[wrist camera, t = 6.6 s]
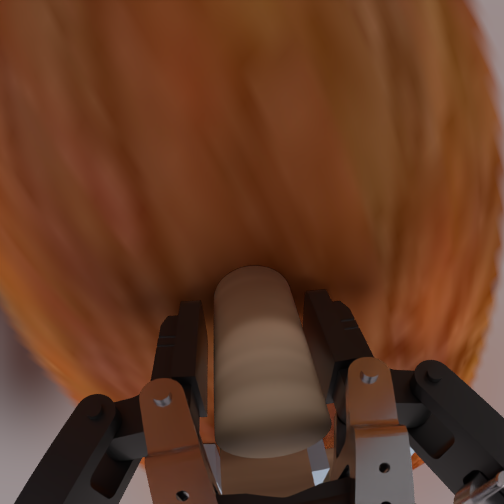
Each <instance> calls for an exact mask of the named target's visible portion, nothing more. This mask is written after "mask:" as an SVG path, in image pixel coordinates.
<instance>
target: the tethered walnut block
mask: <svg viewBox="0 0 504 504" xmlns="http://www.w3.org/2000/svg"><path fill="white" fill-rule="evenodd" d="M214 420H215V441H216V444H217V445H218V446H219V447H220V468H221V487H222V495H226V494H244V493H247V494H254V495H262V496H272V497H288V496H291V495H294V494H296V493H299V492H301V491H304V490H306V489H309V488H311V487H313V486H315V484H314V479H313V474H312V470H311V465H310V461H309V456H308V452H307V448H309V447H311V446H312V445H314V444H316V443H317V442H319V441H320V440H321V439H323V438H324V437H325V436H326V435H327V434H328V432H329V431H330V428H331V419H330V415H329V412H328V409H327V405H326V402H325V399H324V395H323V392H322V389H321V385H320V382H319V379H318V376H317V372H316V369H315V366H314V363H313V359H312V356H311V353H310V350H309V346H308V343H307V340H306V337H305V334H304V331H303V327H302V324H301V321H300V318H299V315H298V312H297V309H296V306H295V302H294V299H293V296H292V293H291V290H290V287H289V284H288V282H287V281H286V279H285V278H284V277H283V276H282V275H281V274H280V273H278V272H277V271H275V270H273V269H271V268H268V267H263V266H246V267H242V268H239V269H236V270H234V271H232V272H230V273H229V274H227V275H226V276H225V277H224V278H223V279H222V280H221V281H220V282H219V284H218V285H217V288H216V290H215V293H214Z"/></svg>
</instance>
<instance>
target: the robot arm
mask: <svg viewBox="0 0 504 504" xmlns="http://www.w3.org/2000/svg"><path fill="white" fill-rule="evenodd" d="M303 331H304V334H305V337H306V340H307V343H308V346H309V350H310V353H311V356H312V359H313V363H314V366H315V369H316V372H317V376H318V379H319V382H320V385H321V389H322V392H323V395H324V399H325V402H326V404H329V403H334V405H335V408H336V413H335V416H334V457H333V466H332V471H331V476H330V481H329V482H324V483H320V484H318V485H316V486H313V487H311V488H309V489H306V490H304V491H301V492H299V493H296V494H294V495H291V496H288V497H272V496H262V495H254V494H247V493H244V494H226V495H221V493H220V490H219V488H218V485H217V483H216V480H215V478H214V475H213V472H212V469H211V466H210V463H209V460H208V457H207V454H206V451H205V448H204V445H203V442H202V439H201V436H200V433H199V417H207V364H208V340H207V331H206V325H205V320H204V314H203V308H202V303H201V300H197V301H182V302H181V303H180V309H179V315H177V316H168V317H167V318H166V319H165V321H164V322H163V323H162V325H161V327H160V332H159V338H158V343H157V348H156V354H155V359H154V365H153V371H152V377H151V381H150V382H149V383H147V384H146V385H145V386H144V387H143V388H142V390H141V392H140V394H139V395H138V396H135V397H133V398H130V399H126V400H122V401H118V402H113V401H112V400H111V399H110V398H109V397H107V396H105V395H102V394H94V395H90V396H88V397H86V398H84V399H83V400H82V401H81V402H80V403H79V404H78V406H77V407H76V409H75V410H74V411H73V413H72V414H71V416H70V417H69V419H68V420H67V422H66V423H65V425H64V426H63V428H62V429H61V431H60V432H59V434H58V435H57V437H56V438H55V440H54V441H53V443H52V444H51V446H50V447H49V449H48V450H47V452H46V453H45V455H44V456H43V458H42V459H41V461H40V463H39V464H38V466H37V467H36V469H35V471H34V472H33V474H32V475H31V477H30V478H29V480H28V482H27V483H26V485H25V486H24V488H23V490H22V491H21V493H20V495H19V497H18V498H17V500H16V501H15V503H14V504H119V502H120V500H121V498H122V496H123V494H124V492H125V490H126V488H127V486H128V484H129V482H130V480H131V478H132V476H133V475H134V473H135V471H136V469H137V467H138V465H139V463H140V461H141V459H142V457H145V469H146V474H147V478H148V483H149V487H150V492H151V497H152V501H153V504H415V503H414V502H415V501H414V485H413V473H412V462H411V453H410V447H411V448H412V449H413V450H414V451H415V452H416V454H417V455H418V456H419V457H420V458H421V459H422V460H423V461H424V462H425V463H426V464H427V465H428V467H430V469H431V470H432V471H433V472H434V473H435V474H436V475H437V476H438V477H439V478H440V479H441V481H443V483H444V484H445V485H446V486H447V487H448V488H449V489H450V490H451V491H452V492H453V493H454V494H455V498H454V504H504V418H503V417H502V416H501V415H500V414H499V413H498V412H497V411H496V410H494V409H493V408H492V407H491V406H490V405H489V404H488V403H487V402H486V401H485V400H484V399H483V398H481V397H480V396H479V395H478V394H477V393H476V392H475V391H474V390H473V389H471V388H470V387H469V386H468V385H467V384H466V383H465V382H464V381H463V380H461V379H460V378H459V377H458V376H457V375H456V374H455V373H454V372H452V371H451V370H450V369H449V368H448V367H447V366H446V365H444V364H443V363H441V362H439V361H435V360H426V361H423V362H421V363H420V364H419V365H418V366H417V367H416V369H415V371H406V370H393V369H389V367H388V366H387V365H386V364H385V363H384V362H383V361H381V360H379V359H377V358H374V356H373V354H372V352H371V350H370V348H369V346H368V344H367V342H366V340H365V338H364V336H363V334H362V332H361V330H360V328H358V324H357V322H356V320H354V316H353V315H352V313H351V311H350V309H349V308H348V307H347V306H346V305H344V304H343V303H342V302H341V301H334V302H332V301H331V299H330V297H329V295H328V293H327V291H326V290H325V289H322V290H312V291H306V292H305V299H304V313H303Z"/></svg>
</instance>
